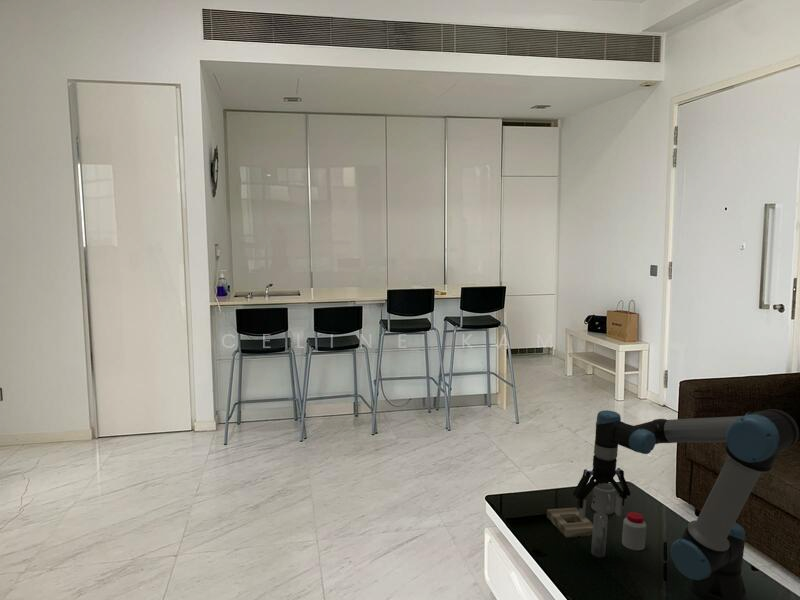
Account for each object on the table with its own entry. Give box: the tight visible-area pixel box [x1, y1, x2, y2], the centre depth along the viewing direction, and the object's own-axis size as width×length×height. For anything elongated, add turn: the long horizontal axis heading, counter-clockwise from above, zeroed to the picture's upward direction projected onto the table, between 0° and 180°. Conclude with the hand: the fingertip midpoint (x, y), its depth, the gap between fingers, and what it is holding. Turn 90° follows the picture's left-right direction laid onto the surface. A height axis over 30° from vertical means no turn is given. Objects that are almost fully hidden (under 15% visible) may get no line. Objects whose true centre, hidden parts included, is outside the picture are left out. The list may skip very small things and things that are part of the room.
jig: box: [546, 507, 593, 538], centre depth 225 cm, size 16×12×3 cm
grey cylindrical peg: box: [590, 512, 609, 558], centre depth 205 cm, size 5×5×14 cm
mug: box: [590, 482, 617, 515], centre depth 237 cm, size 12×9×10 cm
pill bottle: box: [621, 511, 648, 551], centre depth 212 cm, size 8×8×11 cm
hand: (599, 515), depth 205 cm, fingers open, 13 cm apart
